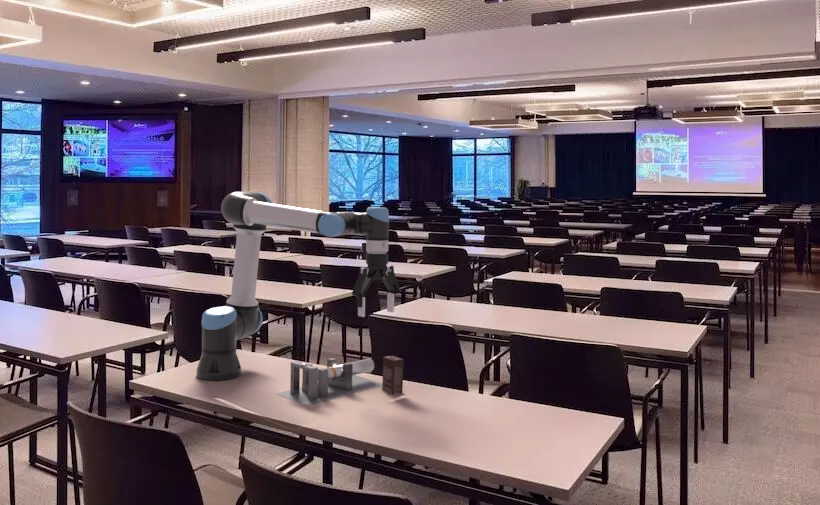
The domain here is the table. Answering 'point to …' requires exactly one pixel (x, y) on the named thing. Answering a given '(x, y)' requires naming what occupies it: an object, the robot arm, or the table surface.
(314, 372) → the frame
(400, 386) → the box
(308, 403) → the board
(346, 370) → the grey tube support frame
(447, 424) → the table surface
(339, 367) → the tube
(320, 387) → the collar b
